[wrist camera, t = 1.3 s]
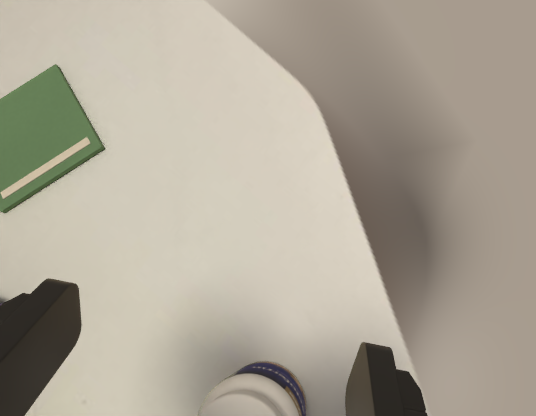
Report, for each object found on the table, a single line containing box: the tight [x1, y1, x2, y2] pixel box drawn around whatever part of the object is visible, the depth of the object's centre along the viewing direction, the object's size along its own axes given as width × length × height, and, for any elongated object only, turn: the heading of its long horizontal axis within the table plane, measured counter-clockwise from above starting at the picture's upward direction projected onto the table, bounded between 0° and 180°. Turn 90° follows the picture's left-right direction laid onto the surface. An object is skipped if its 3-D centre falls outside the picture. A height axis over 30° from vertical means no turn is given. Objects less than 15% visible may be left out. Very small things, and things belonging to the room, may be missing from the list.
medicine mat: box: [0, 64, 105, 213], centre depth 35 cm, size 10×10×1 cm
